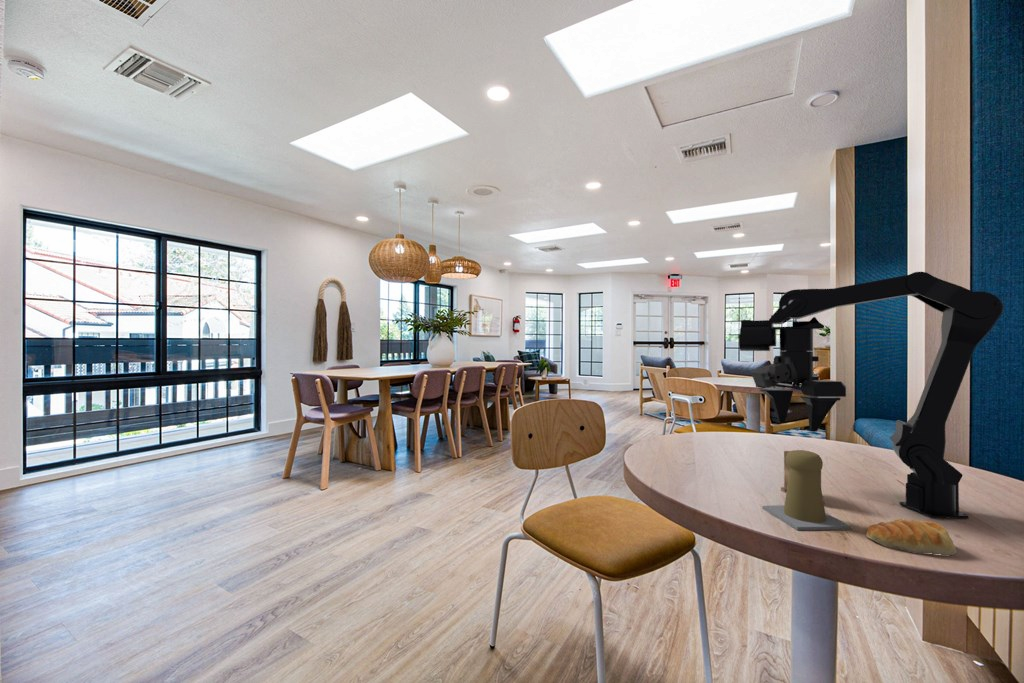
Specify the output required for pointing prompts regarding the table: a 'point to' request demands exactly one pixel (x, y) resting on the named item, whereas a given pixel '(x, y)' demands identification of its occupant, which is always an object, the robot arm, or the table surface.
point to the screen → (786, 474)
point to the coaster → (829, 524)
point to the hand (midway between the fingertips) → (796, 426)
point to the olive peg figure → (804, 487)
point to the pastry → (913, 536)
